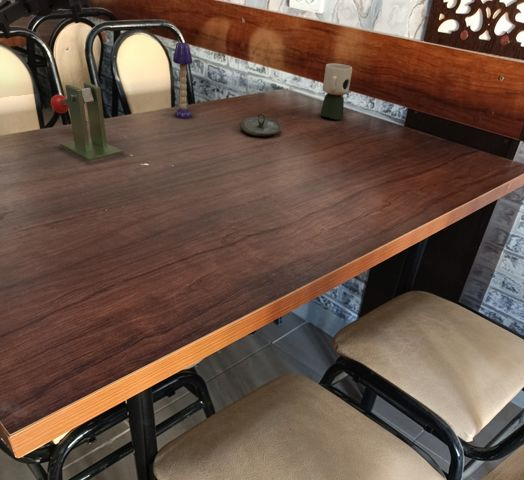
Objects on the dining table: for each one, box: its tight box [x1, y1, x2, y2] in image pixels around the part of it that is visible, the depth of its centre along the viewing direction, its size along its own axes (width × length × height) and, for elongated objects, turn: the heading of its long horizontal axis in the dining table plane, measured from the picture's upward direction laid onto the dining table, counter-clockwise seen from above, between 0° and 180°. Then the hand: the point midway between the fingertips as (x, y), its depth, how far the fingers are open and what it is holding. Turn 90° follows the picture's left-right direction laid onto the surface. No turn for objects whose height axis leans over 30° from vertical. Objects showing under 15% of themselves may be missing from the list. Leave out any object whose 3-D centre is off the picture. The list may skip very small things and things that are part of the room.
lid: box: [238, 112, 283, 137], centre depth 125 cm, size 11×10×5 cm
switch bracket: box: [59, 81, 124, 162], centre depth 103 cm, size 11×8×13 cm
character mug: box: [319, 62, 353, 120], centre depth 137 cm, size 11×7×13 cm, turn 161°
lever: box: [50, 87, 94, 114], centre depth 104 cm, size 14×4×4 cm, turn 47°
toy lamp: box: [172, 41, 193, 120], centre depth 126 cm, size 5×5×17 cm
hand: (39, 22), depth 97 cm, fingers open, 13 cm apart
